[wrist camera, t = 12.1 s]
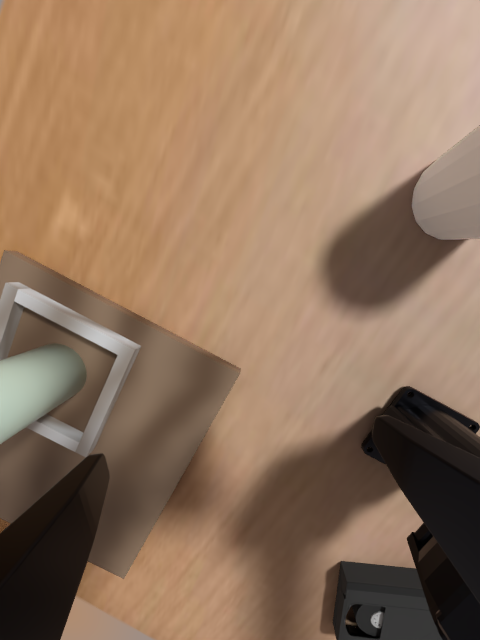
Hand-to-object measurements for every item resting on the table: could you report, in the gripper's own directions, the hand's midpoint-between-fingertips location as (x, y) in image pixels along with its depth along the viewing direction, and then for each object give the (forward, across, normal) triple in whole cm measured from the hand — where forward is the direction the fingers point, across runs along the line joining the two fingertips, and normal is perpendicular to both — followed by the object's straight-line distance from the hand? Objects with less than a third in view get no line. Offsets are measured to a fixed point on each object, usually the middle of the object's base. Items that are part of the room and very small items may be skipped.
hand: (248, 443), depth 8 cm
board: (+14, +13, +9) cm, 21 cm away
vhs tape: (+6, -16, +27) cm, 32 cm away
